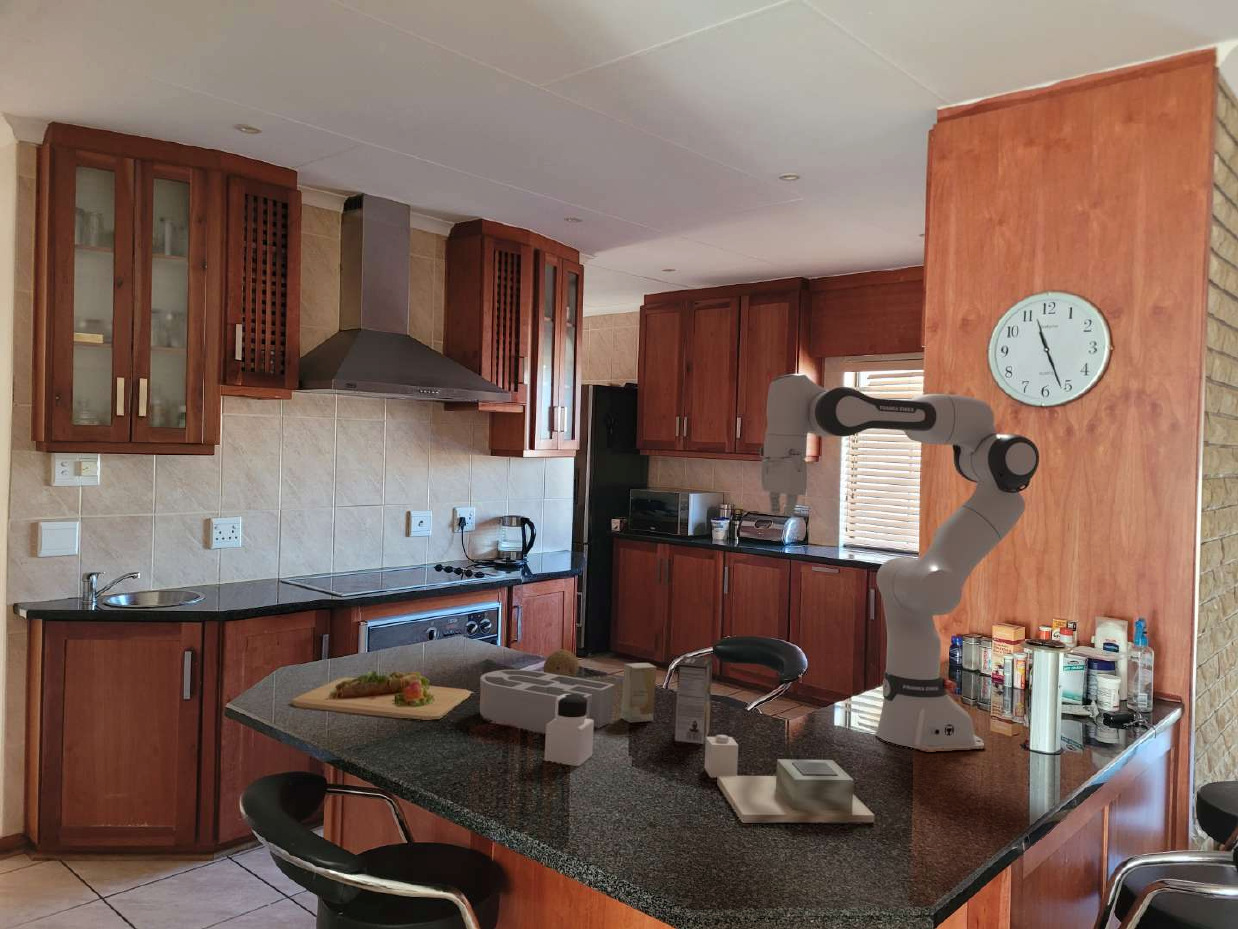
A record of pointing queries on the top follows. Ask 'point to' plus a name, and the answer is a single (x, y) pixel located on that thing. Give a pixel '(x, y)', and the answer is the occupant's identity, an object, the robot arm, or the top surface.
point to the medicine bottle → (569, 732)
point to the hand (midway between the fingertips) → (782, 514)
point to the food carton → (693, 699)
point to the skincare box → (638, 692)
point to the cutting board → (385, 696)
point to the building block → (721, 756)
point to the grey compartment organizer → (539, 697)
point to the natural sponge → (562, 664)
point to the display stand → (796, 794)
